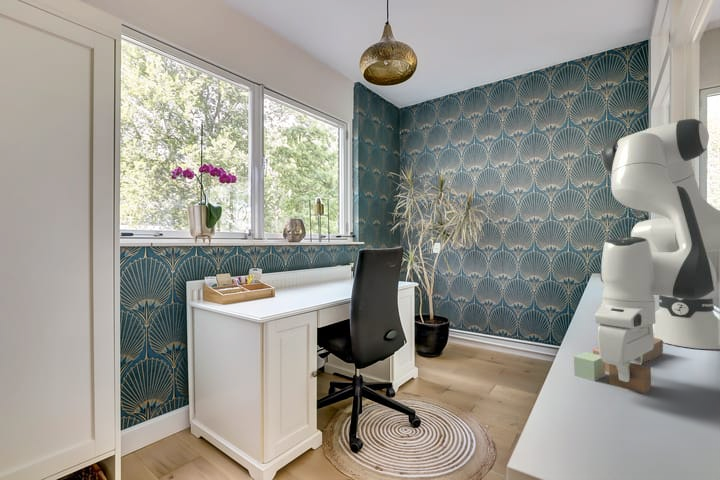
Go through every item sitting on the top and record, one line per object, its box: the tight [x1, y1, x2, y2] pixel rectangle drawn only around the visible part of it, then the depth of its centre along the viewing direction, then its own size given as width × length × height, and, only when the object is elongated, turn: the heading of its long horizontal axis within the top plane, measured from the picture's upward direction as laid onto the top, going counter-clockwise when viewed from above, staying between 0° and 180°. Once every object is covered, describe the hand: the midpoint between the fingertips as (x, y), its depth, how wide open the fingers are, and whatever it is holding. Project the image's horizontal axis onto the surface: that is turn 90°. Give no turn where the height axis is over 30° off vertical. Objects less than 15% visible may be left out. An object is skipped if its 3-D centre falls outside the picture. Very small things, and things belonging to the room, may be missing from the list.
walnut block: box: [608, 363, 652, 395], centre depth 70 cm, size 6×4×4 cm, turn 34°
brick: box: [641, 338, 664, 365], centre depth 90 cm, size 17×8×5 cm, turn 121°
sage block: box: [573, 351, 606, 382], centre depth 77 cm, size 6×4×4 cm, turn 124°
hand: (629, 377), depth 70 cm, fingers closed on walnut block, 4 cm apart
